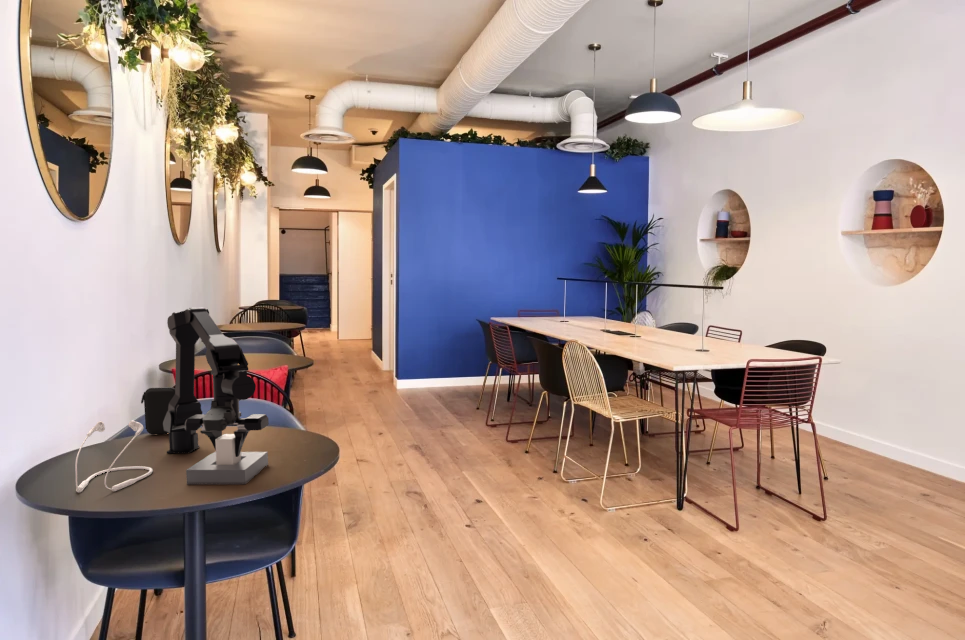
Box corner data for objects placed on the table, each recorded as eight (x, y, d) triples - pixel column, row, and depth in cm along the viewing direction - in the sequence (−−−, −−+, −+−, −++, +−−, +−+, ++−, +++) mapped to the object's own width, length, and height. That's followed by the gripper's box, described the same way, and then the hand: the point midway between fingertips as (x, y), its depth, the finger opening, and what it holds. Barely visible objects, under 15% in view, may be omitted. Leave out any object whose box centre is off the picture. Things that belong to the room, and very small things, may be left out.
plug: (216, 471, 155) (215, 439, 154) (227, 463, 161) (226, 432, 161) (232, 471, 155) (231, 439, 154) (243, 463, 161) (242, 432, 161)
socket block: (186, 484, 150) (186, 469, 150) (214, 465, 165) (214, 451, 165) (245, 484, 150) (244, 469, 150) (268, 465, 165) (267, 451, 165)
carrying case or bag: (140, 436, 195) (138, 389, 194) (145, 433, 198) (142, 387, 197) (177, 435, 196) (174, 388, 195) (180, 432, 199) (178, 386, 198)
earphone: (54, 482, 141) (86, 416, 154) (85, 519, 153) (112, 455, 166) (118, 480, 142) (144, 415, 155) (143, 517, 154) (165, 453, 166)
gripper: (171, 401, 148) (174, 466, 150) (251, 400, 148) (253, 466, 149) (194, 391, 159) (197, 453, 161) (268, 391, 159) (270, 452, 160)
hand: (228, 456), depth 157 cm, fingers closed on plug, 4 cm apart
